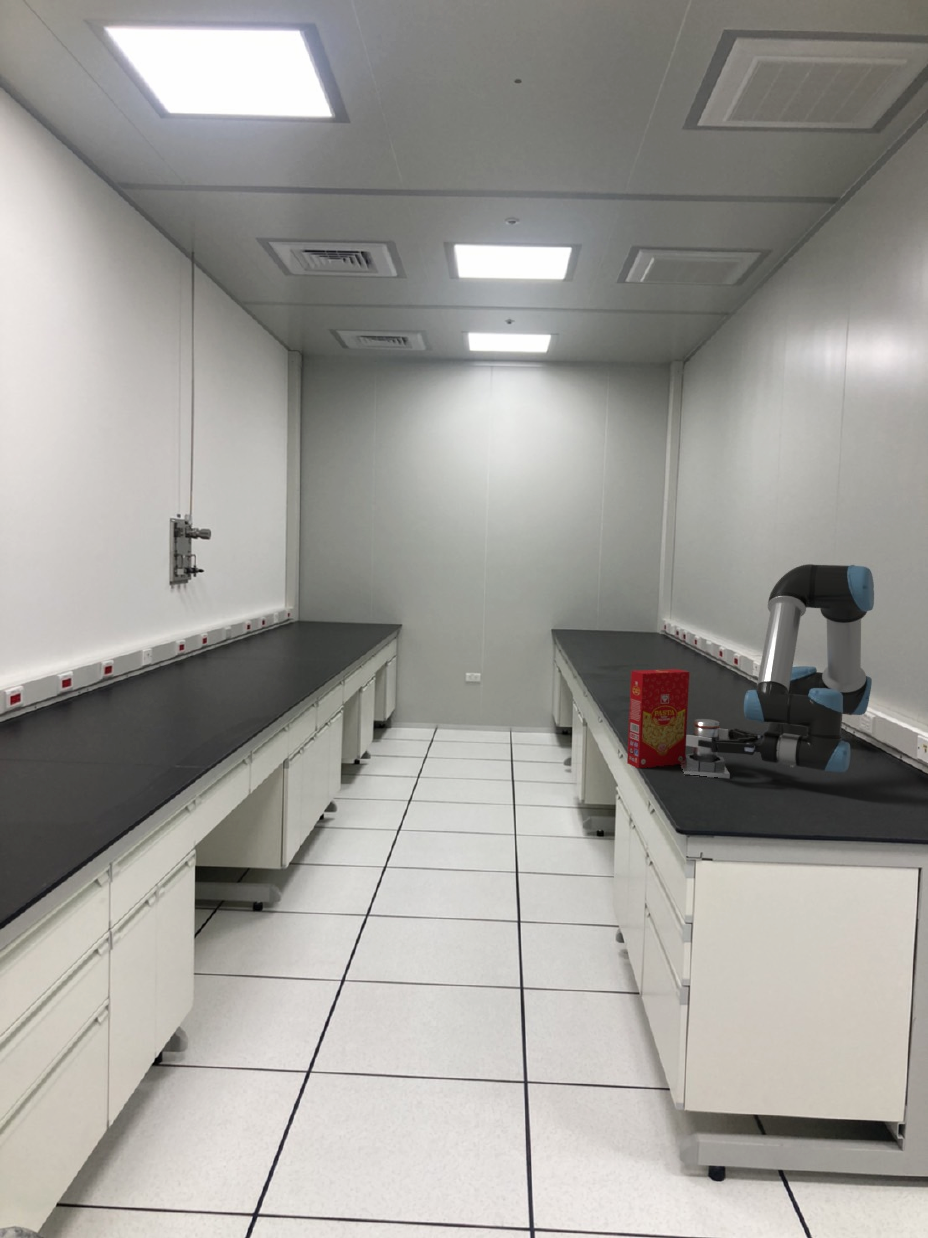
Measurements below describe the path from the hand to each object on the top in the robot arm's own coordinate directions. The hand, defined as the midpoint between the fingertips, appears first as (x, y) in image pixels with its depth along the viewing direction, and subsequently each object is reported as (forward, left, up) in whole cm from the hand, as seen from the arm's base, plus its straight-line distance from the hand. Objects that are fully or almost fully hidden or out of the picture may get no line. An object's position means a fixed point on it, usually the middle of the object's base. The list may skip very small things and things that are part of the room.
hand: (695, 735), depth 212 cm
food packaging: (+9, -4, -9) cm, 14 cm away
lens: (-3, +1, -8) cm, 8 cm away
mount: (-2, +1, -9) cm, 9 cm away
